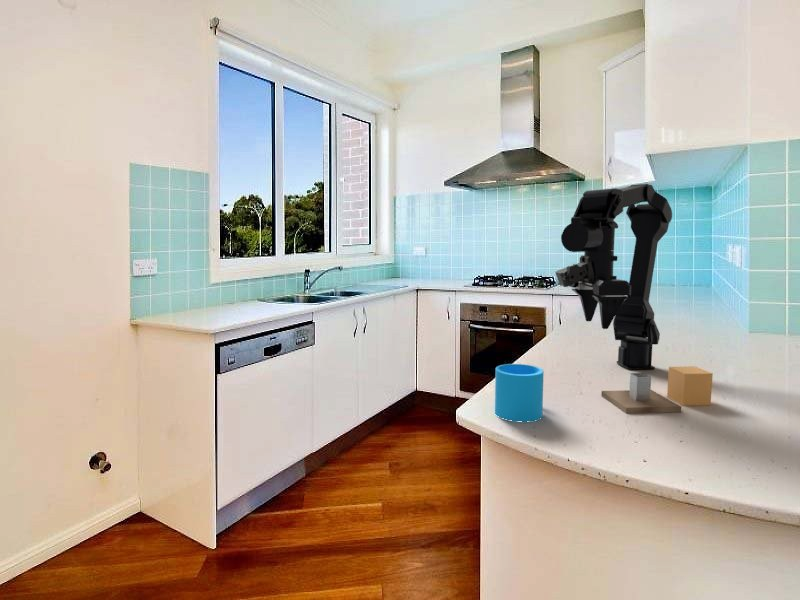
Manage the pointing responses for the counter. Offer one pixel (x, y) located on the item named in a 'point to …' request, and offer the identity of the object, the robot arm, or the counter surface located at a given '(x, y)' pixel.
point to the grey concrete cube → (640, 386)
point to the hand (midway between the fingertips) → (596, 324)
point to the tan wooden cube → (689, 385)
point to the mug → (519, 392)
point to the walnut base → (640, 402)
